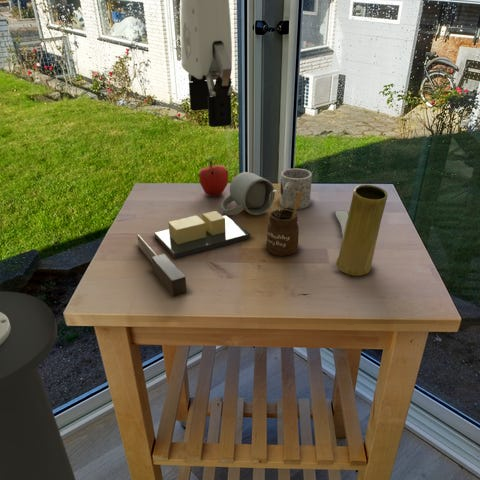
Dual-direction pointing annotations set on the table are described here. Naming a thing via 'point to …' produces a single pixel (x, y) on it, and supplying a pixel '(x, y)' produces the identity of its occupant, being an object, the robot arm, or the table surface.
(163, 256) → the table knife
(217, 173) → the apple
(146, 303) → the table surface
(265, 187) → the ceramic mug
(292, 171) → the mug
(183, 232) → the butter block
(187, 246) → the board
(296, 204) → the utensil holder
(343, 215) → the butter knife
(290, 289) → the table surface
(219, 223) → the butter pat
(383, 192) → the vase
